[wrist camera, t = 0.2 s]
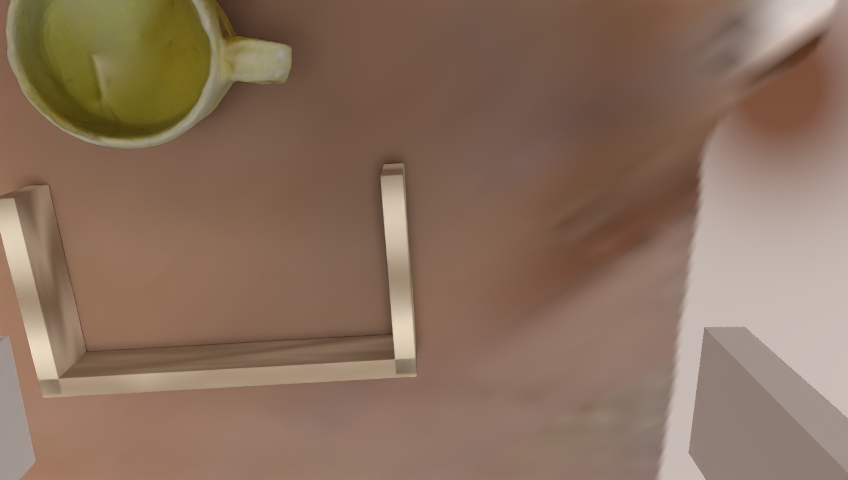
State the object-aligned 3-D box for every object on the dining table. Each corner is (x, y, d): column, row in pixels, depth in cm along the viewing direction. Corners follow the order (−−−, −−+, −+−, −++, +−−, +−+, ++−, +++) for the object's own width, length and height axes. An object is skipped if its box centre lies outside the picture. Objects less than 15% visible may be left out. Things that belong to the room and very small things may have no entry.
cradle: (28, 185, 39) (-8, 199, 36) (403, 163, 39) (402, 174, 36) (72, 369, 43) (42, 397, 40) (416, 349, 43) (416, 376, 39)
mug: (33, 135, 37) (-37, 107, 27) (80, -43, 37) (27, -133, 27) (255, 191, 40) (263, 184, 30) (296, 28, 40) (316, -29, 31)
